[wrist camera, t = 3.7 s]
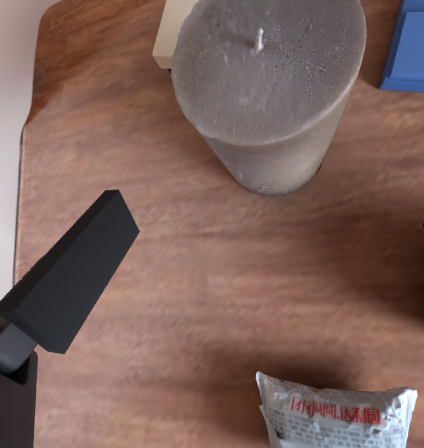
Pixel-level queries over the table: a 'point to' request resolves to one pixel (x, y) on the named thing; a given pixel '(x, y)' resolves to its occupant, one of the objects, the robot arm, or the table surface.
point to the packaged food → (334, 415)
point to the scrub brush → (170, 30)
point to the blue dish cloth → (406, 50)
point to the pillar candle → (268, 83)
